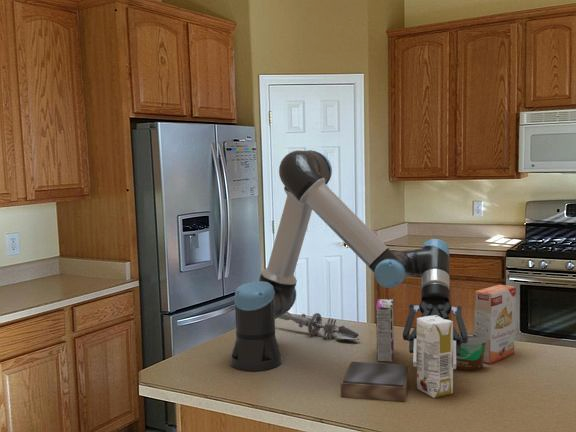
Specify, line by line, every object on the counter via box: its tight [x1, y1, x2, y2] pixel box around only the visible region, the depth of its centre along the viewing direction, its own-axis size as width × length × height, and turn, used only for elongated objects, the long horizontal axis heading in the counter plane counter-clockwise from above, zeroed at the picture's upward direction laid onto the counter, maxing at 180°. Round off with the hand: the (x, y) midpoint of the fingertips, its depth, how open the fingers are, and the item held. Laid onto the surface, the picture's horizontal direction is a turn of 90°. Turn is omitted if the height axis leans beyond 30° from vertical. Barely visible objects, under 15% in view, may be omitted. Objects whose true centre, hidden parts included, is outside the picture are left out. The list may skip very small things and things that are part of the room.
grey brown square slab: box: [340, 361, 410, 402], centre depth 160 cm, size 16×16×4 cm
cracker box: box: [473, 284, 517, 365], centre depth 181 cm, size 14×6×21 cm, turn 131°
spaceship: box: [277, 311, 361, 341], centre depth 208 cm, size 8×35×8 cm
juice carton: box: [416, 315, 454, 399], centre depth 155 cm, size 8×9×19 cm
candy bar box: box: [375, 298, 395, 363], centre depth 184 cm, size 11×5×16 cm, turn 168°
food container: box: [453, 332, 488, 372], centre depth 172 cm, size 12×6×10 cm, turn 70°
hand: (434, 365), depth 153 cm, fingers closed on juice carton, 9 cm apart
